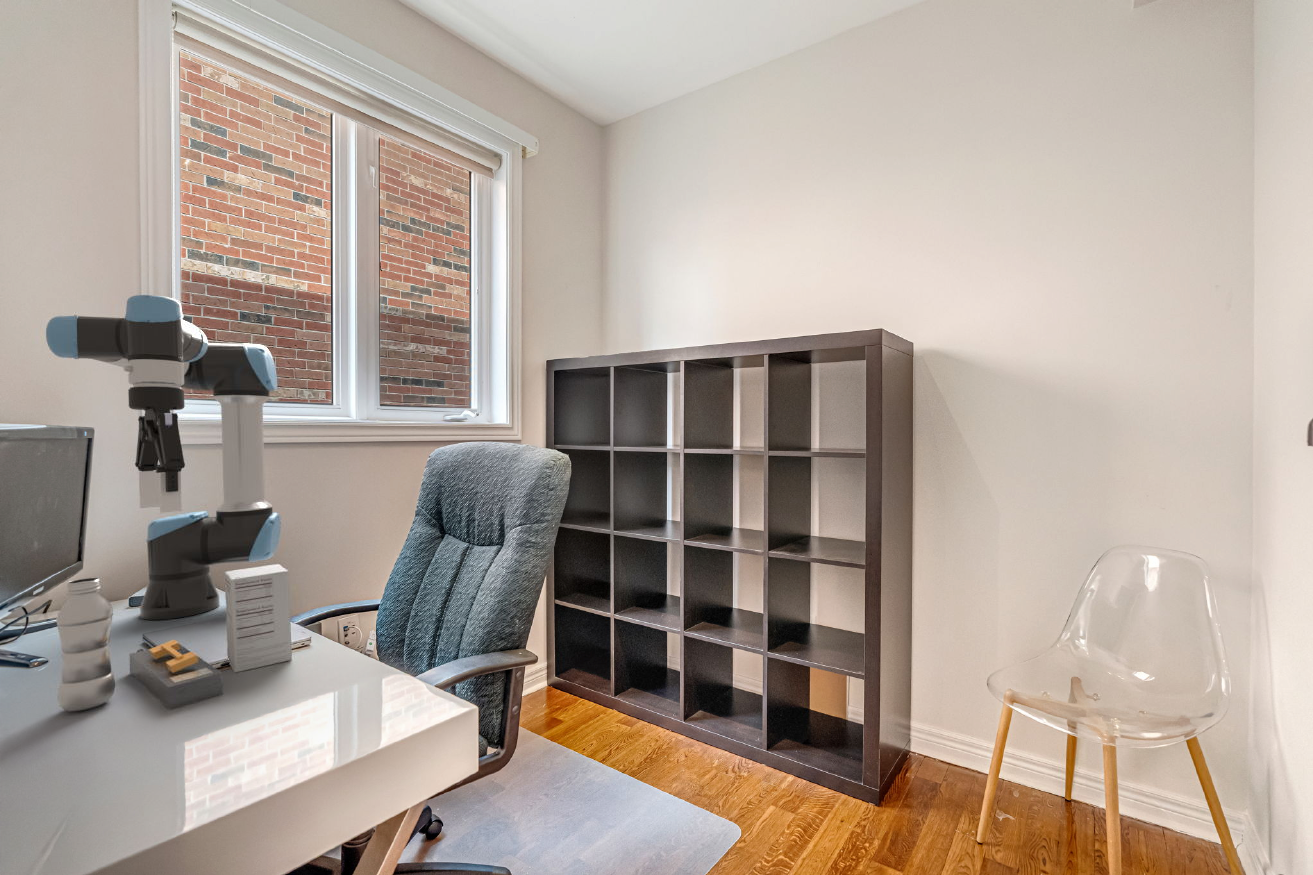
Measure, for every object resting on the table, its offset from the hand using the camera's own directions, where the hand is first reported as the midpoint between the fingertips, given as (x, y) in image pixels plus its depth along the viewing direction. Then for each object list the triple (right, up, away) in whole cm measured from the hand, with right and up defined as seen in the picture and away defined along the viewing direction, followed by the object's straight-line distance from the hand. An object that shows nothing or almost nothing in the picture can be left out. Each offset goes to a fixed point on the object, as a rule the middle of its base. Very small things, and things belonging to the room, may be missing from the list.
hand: (160, 509), depth 107 cm
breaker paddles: (+3, -25, -1) cm, 25 cm away
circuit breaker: (-1, -30, +2) cm, 30 cm away
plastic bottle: (-3, -30, -10) cm, 32 cm away
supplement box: (+12, -30, +9) cm, 33 cm away
